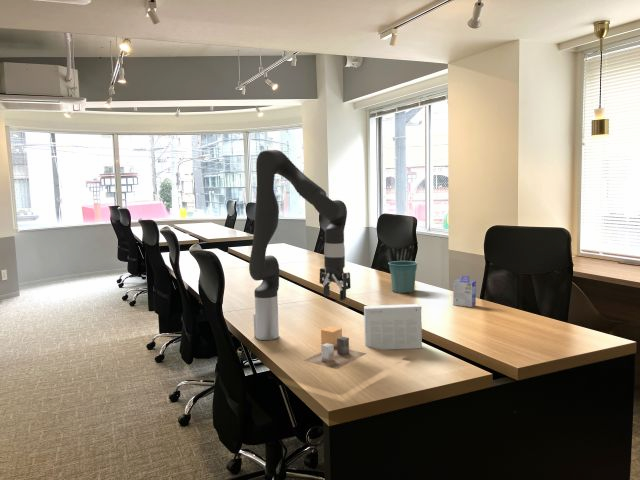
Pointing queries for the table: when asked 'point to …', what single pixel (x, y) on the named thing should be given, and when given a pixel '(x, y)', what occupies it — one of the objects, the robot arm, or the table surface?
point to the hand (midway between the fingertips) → (334, 297)
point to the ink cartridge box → (464, 292)
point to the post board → (338, 355)
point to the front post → (327, 352)
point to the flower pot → (403, 276)
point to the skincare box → (393, 326)
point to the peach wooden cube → (330, 335)
